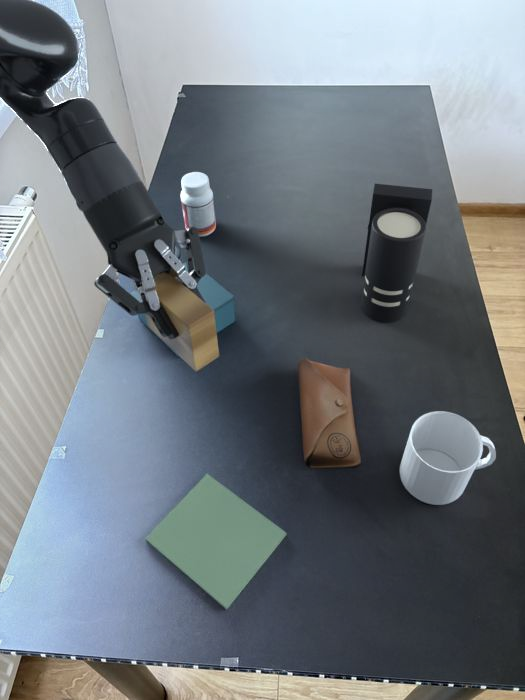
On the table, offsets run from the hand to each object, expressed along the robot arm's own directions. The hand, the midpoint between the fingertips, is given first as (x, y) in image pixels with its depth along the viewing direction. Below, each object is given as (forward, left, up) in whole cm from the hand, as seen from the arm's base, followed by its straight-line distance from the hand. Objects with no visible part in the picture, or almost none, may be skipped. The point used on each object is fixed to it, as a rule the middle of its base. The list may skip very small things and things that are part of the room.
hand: (189, 327), depth 70 cm
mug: (+15, -30, -24) cm, 41 cm away
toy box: (+15, +19, -24) cm, 34 cm away
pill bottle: (+35, +34, -24) cm, 54 cm away
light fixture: (+41, -5, -24) cm, 48 cm away
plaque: (0, +2, -4) cm, 4 cm away
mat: (-11, -11, -24) cm, 28 cm away
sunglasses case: (+14, -12, -24) cm, 30 cm away
